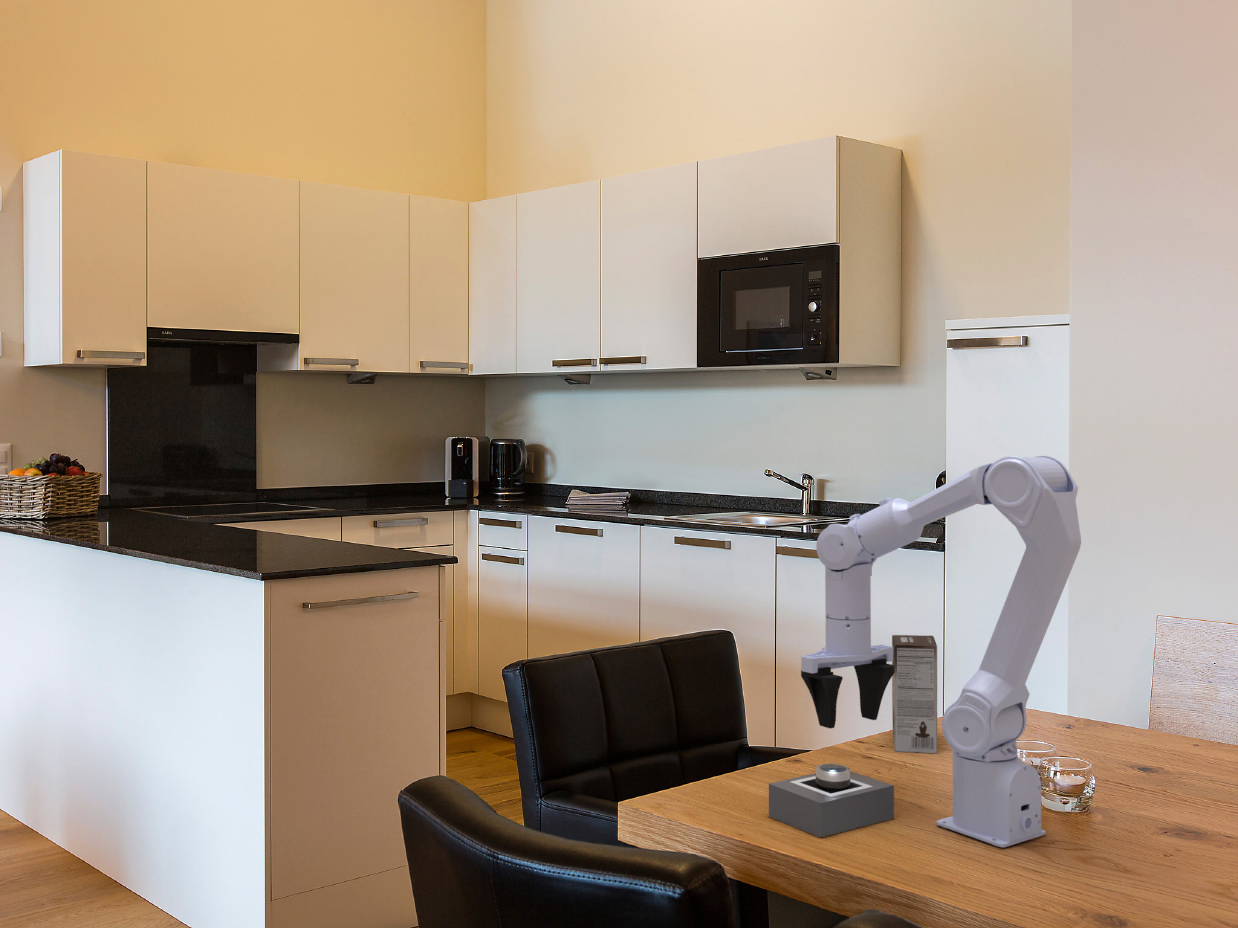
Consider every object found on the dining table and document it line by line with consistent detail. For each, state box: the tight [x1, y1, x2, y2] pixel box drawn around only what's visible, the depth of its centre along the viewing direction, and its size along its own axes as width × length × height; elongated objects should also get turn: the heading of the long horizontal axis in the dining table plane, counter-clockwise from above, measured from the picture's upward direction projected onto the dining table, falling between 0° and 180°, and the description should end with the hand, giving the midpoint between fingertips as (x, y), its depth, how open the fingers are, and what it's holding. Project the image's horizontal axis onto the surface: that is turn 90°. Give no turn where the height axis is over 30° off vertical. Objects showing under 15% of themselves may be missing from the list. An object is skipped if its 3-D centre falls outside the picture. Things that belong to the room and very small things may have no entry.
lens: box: [815, 763, 851, 794], centre depth 131 cm, size 4×4×6 cm
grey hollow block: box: [768, 770, 895, 838], centre depth 131 cm, size 9×12×4 cm
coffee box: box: [891, 634, 938, 754], centre depth 164 cm, size 9×6×16 cm
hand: (848, 722), depth 139 cm, fingers open, 7 cm apart
